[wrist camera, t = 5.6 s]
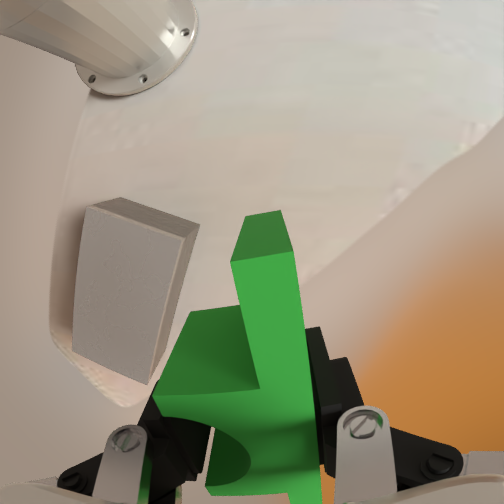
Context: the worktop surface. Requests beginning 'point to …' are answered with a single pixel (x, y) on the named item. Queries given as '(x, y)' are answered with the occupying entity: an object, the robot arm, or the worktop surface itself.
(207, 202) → the worktop surface
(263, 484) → the pipe clamp
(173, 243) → the gray rectangular block
